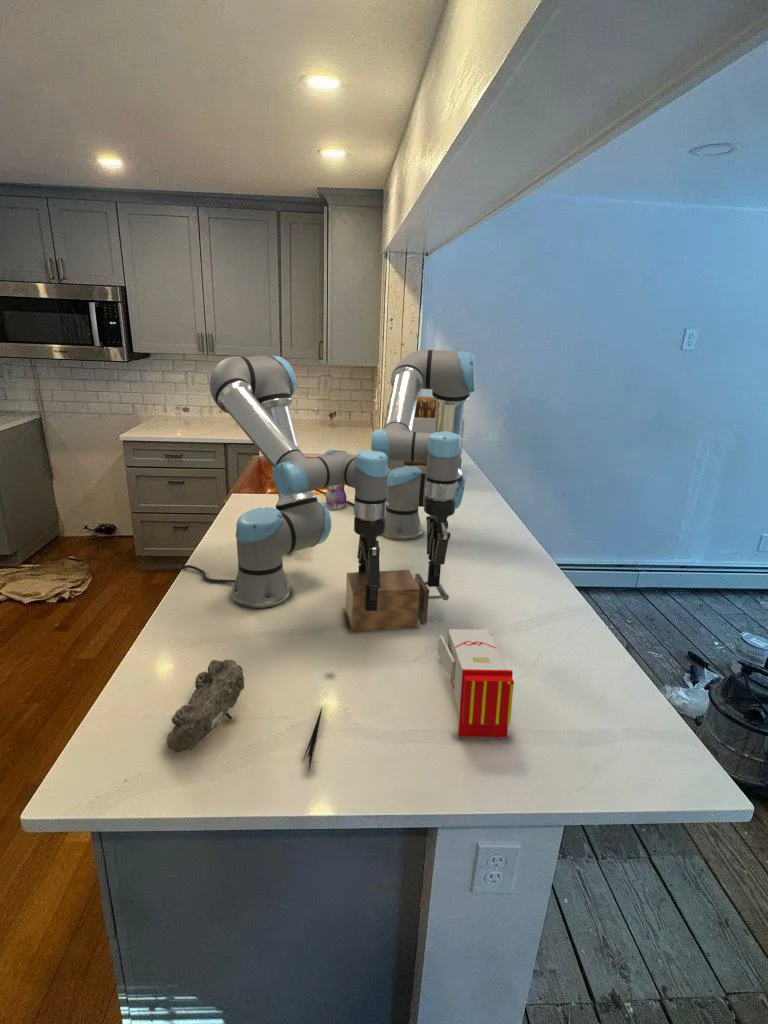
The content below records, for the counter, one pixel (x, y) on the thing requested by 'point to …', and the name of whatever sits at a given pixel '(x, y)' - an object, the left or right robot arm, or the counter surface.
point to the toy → (478, 682)
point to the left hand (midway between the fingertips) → (367, 598)
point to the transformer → (423, 427)
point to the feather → (313, 740)
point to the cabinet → (383, 601)
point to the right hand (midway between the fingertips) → (433, 585)
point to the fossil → (206, 705)
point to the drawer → (427, 596)
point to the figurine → (335, 497)
